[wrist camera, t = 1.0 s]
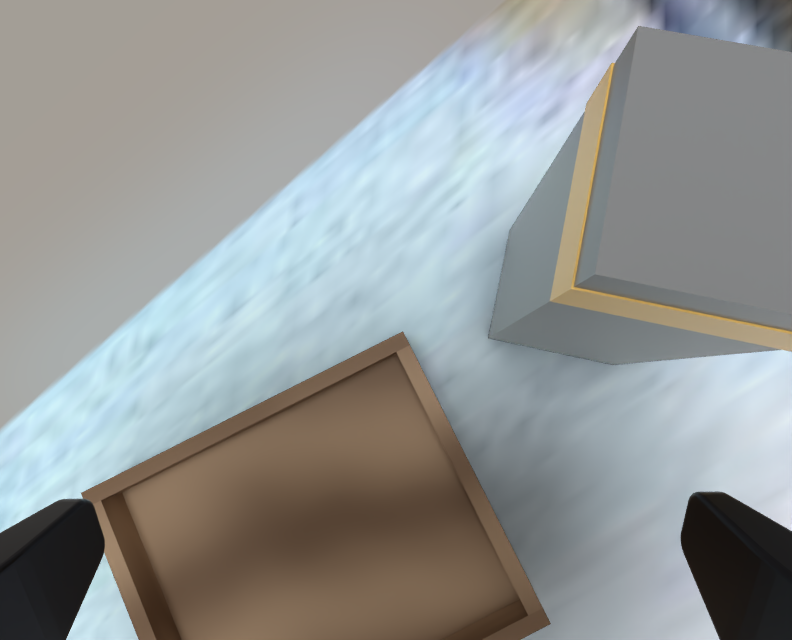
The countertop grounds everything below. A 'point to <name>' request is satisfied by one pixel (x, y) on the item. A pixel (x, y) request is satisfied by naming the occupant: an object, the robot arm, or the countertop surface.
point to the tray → (318, 521)
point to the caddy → (662, 212)
